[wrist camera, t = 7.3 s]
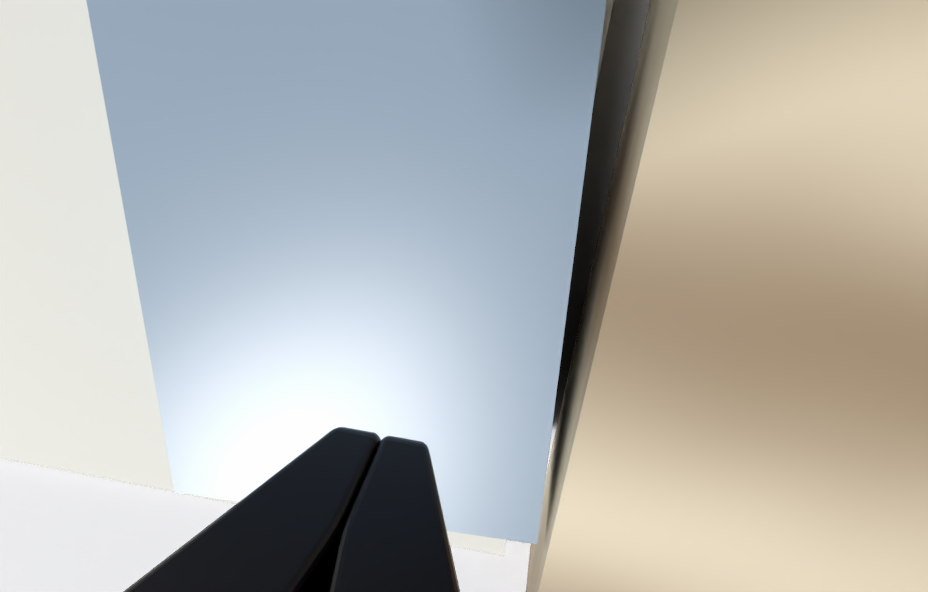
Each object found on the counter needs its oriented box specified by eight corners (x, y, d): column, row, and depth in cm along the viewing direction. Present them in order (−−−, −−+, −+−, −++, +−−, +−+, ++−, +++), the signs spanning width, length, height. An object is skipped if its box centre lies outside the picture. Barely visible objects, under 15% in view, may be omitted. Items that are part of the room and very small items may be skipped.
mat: (505, 541, 16) (503, 556, 16) (-151, 414, 17) (-166, 426, 17) (679, -335, 9) (681, -341, 9) (-456, -469, 10) (-494, -479, 10)
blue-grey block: (544, 459, 15) (537, 544, 13) (222, 416, 15) (174, 491, 14) (614, -98, 10) (616, -82, 8) (151, -127, 11) (65, -117, 9)
